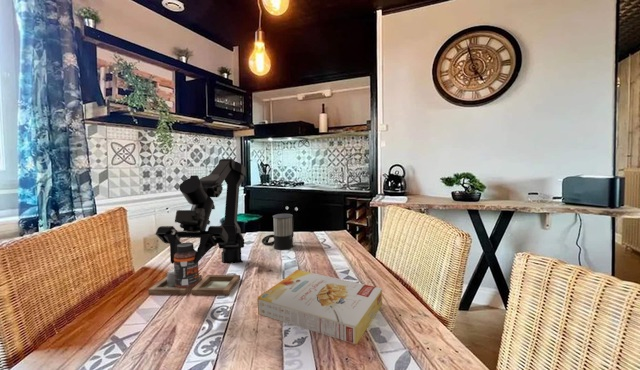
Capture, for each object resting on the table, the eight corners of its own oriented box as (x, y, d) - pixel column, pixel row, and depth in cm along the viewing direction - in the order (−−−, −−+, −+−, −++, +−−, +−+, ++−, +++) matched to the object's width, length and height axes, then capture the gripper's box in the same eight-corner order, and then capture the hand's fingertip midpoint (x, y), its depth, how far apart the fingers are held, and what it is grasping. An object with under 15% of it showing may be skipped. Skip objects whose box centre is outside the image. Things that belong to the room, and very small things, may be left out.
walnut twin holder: (169, 281, 97) (169, 274, 97) (240, 282, 96) (240, 275, 96) (148, 297, 86) (148, 289, 86) (228, 298, 85) (228, 290, 85)
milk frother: (292, 250, 129) (291, 217, 128) (256, 250, 129) (255, 217, 128) (295, 241, 143) (295, 211, 142) (263, 241, 143) (262, 211, 142)
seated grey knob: (173, 282, 94) (172, 266, 94) (188, 282, 94) (187, 266, 93) (164, 289, 89) (163, 272, 89) (180, 289, 89) (179, 272, 88)
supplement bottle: (190, 290, 76) (187, 248, 75) (170, 288, 77) (167, 247, 76) (203, 280, 82) (201, 241, 81) (184, 279, 83) (182, 240, 82)
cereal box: (296, 268, 94) (383, 285, 81) (297, 285, 94) (383, 304, 81) (255, 296, 76) (358, 324, 63) (256, 316, 76) (358, 348, 63)
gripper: (157, 198, 81) (133, 249, 72) (222, 197, 81) (207, 249, 71) (174, 219, 90) (154, 267, 80) (233, 219, 89) (221, 268, 79)
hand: (183, 263), depth 77 cm, fingers closed on supplement bottle, 6 cm apart
